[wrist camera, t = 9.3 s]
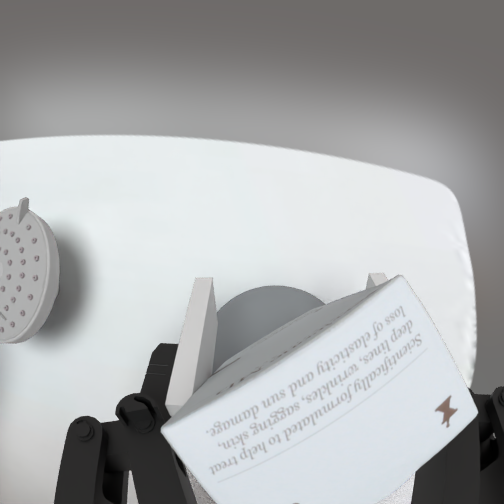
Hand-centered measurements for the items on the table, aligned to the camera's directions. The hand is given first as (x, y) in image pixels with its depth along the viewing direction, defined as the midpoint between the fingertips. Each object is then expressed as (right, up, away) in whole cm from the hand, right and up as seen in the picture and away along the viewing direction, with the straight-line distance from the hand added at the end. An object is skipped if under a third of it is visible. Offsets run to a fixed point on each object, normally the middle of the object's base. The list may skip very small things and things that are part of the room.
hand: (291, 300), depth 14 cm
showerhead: (-18, -1, +8) cm, 20 cm away
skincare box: (0, -4, +3) cm, 5 cm away
